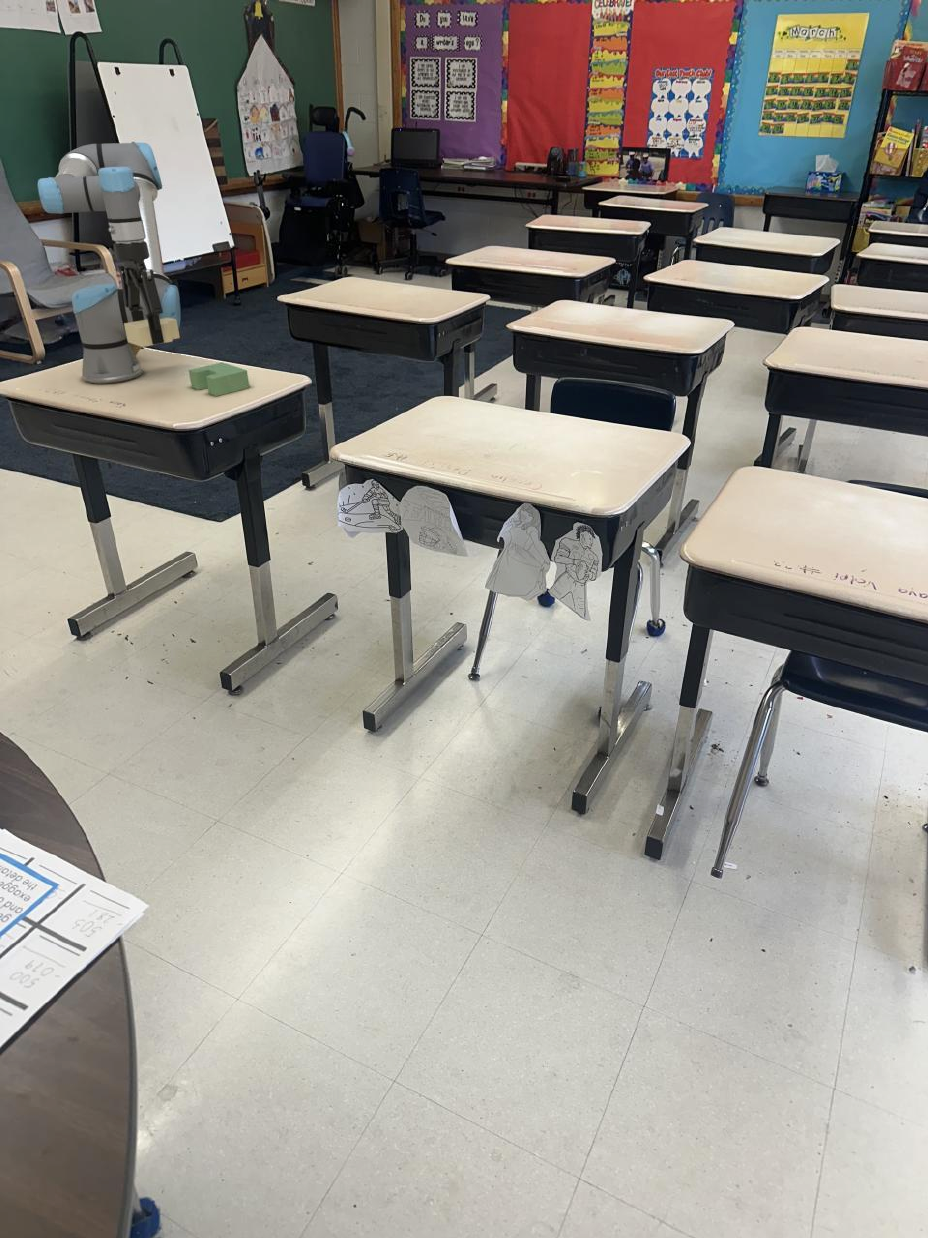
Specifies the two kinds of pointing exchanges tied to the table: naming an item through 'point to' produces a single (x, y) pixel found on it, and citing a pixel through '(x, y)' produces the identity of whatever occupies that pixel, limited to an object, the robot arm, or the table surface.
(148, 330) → the cream pad
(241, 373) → the green u-shaped block
